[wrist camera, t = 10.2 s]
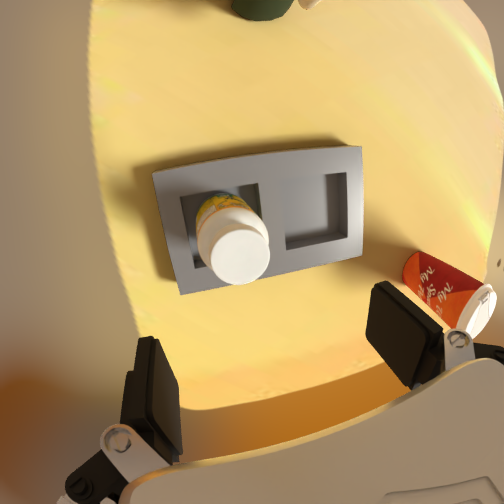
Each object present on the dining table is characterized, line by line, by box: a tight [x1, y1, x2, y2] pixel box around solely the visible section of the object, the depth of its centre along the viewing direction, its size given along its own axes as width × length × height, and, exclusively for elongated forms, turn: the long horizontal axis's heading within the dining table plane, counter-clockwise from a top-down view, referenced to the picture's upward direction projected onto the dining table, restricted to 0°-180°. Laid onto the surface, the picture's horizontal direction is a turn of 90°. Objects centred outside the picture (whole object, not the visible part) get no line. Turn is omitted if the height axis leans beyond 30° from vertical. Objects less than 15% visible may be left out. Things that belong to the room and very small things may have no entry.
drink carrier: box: [152, 145, 364, 295], centre depth 27 cm, size 12×20×2 cm, turn 97°
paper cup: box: [402, 252, 497, 339], centre depth 30 cm, size 8×8×14 cm
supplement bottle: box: [195, 193, 270, 285], centre depth 23 cm, size 5×5×10 cm
